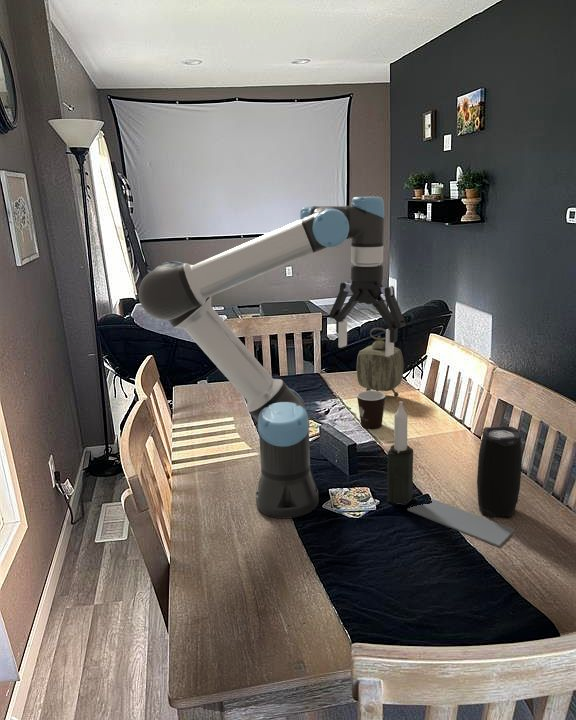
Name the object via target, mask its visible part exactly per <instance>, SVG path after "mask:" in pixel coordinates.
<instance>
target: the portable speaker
mask: <svg viewBox="0 0 576 720" xmlns="http://www.w3.org/2000/svg"><path fill="white" fill-rule="evenodd" d="M481 435H482V437H481V443H480V447H479V452H478V461H477V462H478V463H477V476H476V477H477V478H476V485H477V486H476V488H477V504H478V509H479V511H480V513H481V514H482V515H483V516H485V517H488V518H490V519H494V518H495V517H500V516H501V517H507V518H508V519H509V518H510V519H511V518H514V515H515V513H516V508H517V504H518V501H519V495H520V489H521V481H522V480H521V479H522V468H523V467H522V465H523V455H522V437H521V433H520V431H519V429H517V428H516V427H514V426H509V425H500V426H499V425H498V426H489V427H486V426H485V427H484V428H483V429H482V433H481Z"/></svg>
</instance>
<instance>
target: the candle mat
mask: <svg viewBox="0 0 576 720" xmlns="http://www.w3.org/2000/svg"><path fill="white" fill-rule="evenodd" d="M431 501H432V503H430V504H423V505H422V504H421V505H417V506H413V507H411V506H409V507H410V508H409V507H408V508H407V511H408V512H410V513H413V514H415V515H418V516H420V517H422V518H426V519H428V520H431V521H433V522H435V523H438V524H441V525H443V526H445V527H447V528H451V529H453V530H455V531H458V532H460V533H463V534H465V535H468V536H470V537H472V538H476V539H478V540H481V541H483V542H485V543H488V544H491V545H493V546H496V547H498V548H500V546H501V545H503V544H504V543H505V542H506V541H507V540H508V538H510V537H511V536H512V535H513V534H514V533H515V532H516V529H514V528H512V527H509V526H507V525H504V524H502V523H500V522H499V523H498V522H495V521H494V520H490V519H488V518H484V517H482V516H480V515H477V514H474V513H472V512H469V511H466V510H463V509H461V508H458V507H455V506H453V505H450V504H448V503H444V502H441V501H439V500H436V499H434V498H431Z"/></svg>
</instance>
